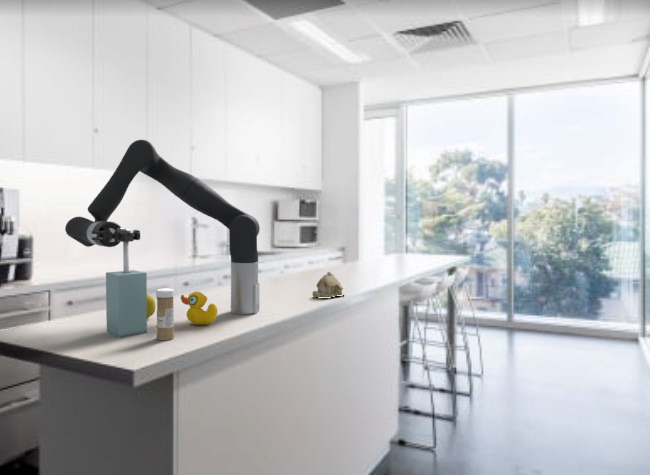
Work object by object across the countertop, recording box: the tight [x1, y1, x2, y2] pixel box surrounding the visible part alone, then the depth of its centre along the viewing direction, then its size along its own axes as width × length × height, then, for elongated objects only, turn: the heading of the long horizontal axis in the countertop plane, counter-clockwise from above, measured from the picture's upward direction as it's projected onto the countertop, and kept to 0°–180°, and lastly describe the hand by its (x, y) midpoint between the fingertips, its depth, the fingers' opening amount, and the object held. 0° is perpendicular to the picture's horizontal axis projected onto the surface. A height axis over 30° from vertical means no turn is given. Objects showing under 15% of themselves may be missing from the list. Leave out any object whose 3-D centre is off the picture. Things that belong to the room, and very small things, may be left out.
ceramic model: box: [312, 271, 344, 298], centre depth 202 cm, size 14×11×10 cm
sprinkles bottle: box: [155, 287, 175, 341], centre depth 134 cm, size 5×5×14 cm
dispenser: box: [105, 269, 148, 338], centre depth 140 cm, size 8×8×17 cm
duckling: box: [180, 291, 218, 326], centre depth 151 cm, size 11×5×10 cm, turn 82°
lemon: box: [147, 293, 157, 320], centre depth 157 cm, size 6×6×8 cm
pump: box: [118, 229, 135, 273], centre depth 138 cm, size 6×4×14 cm, turn 46°
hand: (130, 236), depth 137 cm, fingers closed on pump, 4 cm apart
